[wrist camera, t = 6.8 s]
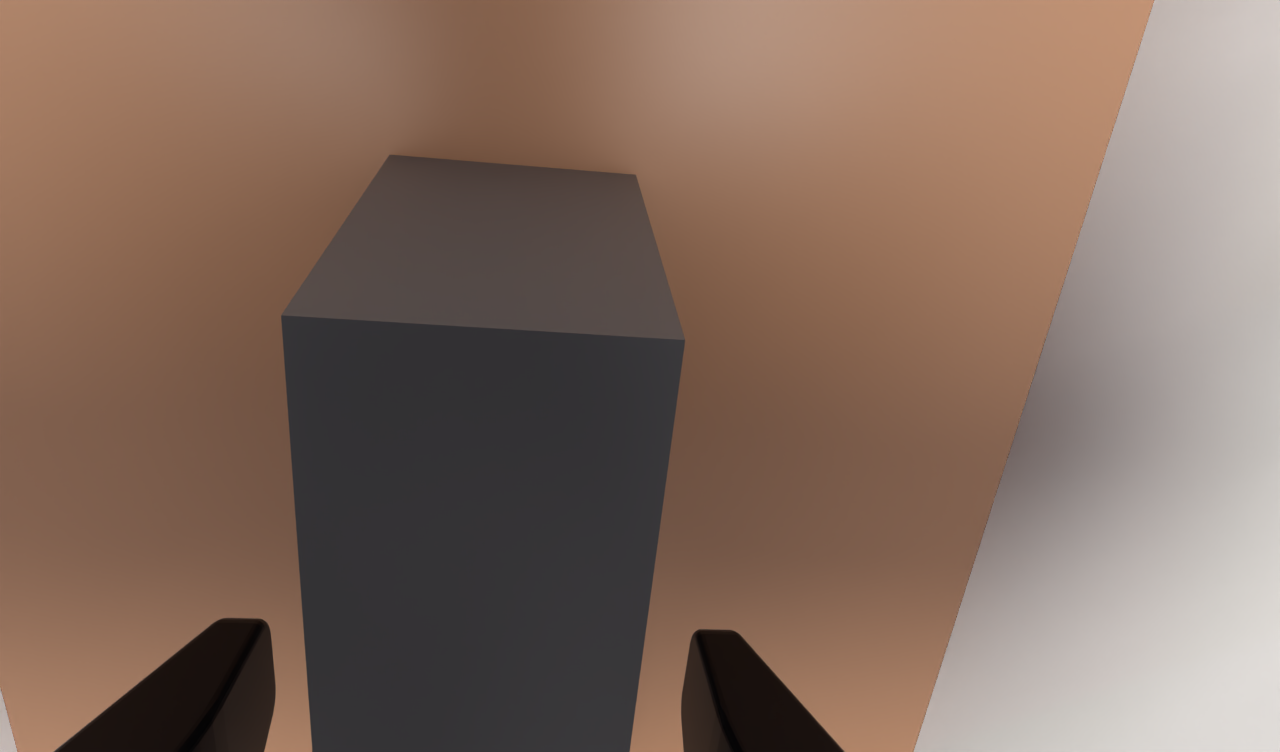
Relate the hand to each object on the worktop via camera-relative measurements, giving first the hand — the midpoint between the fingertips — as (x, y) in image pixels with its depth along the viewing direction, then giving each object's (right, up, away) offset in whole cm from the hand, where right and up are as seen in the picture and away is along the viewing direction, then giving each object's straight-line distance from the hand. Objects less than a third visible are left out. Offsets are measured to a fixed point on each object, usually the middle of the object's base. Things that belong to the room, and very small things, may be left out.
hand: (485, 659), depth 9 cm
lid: (0, +2, +3) cm, 4 cm away
